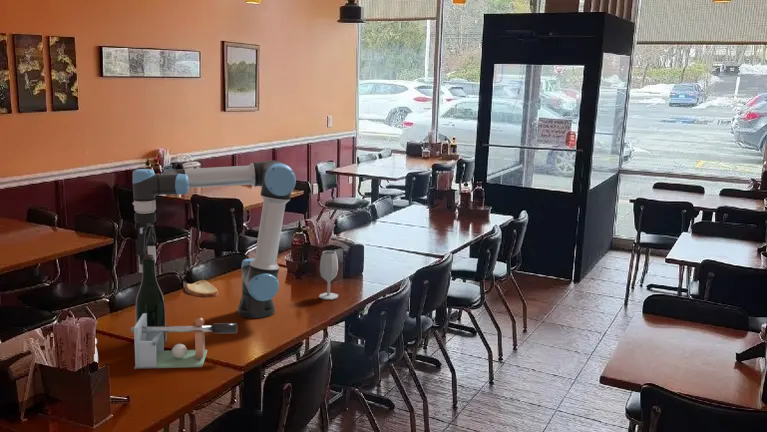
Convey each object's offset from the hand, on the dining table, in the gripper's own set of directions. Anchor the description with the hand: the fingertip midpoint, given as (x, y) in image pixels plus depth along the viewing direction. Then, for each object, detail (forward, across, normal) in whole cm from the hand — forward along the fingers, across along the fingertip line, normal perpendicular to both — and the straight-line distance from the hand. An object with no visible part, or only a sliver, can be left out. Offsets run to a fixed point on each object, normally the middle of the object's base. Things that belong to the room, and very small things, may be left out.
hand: (147, 267), depth 254 cm
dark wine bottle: (+26, +10, +3) cm, 28 cm away
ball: (+23, +26, +16) cm, 38 cm away
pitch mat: (+26, +26, +13) cm, 39 cm away
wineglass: (+26, -43, +68) cm, 85 cm away
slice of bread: (+26, -53, +11) cm, 61 cm away
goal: (+26, +26, +6) cm, 37 cm away
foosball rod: (+24, +26, +18) cm, 39 cm away
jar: (+26, +46, -10) cm, 54 cm away
